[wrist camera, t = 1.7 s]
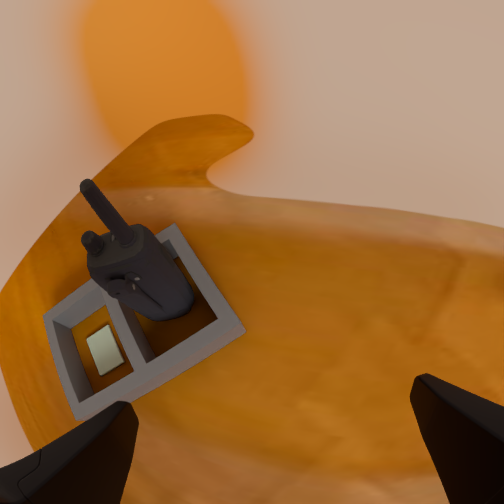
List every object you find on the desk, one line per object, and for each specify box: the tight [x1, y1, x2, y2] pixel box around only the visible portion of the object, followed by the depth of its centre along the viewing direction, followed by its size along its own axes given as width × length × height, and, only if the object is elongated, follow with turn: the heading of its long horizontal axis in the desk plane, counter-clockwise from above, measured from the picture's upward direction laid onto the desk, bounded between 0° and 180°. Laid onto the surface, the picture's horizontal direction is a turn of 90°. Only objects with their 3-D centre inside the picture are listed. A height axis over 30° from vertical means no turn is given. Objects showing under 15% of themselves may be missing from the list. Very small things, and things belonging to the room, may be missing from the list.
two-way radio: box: [80, 179, 194, 321], centre depth 17 cm, size 6×4×15 cm
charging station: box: [43, 223, 246, 421], centre depth 21 cm, size 17×11×3 cm
